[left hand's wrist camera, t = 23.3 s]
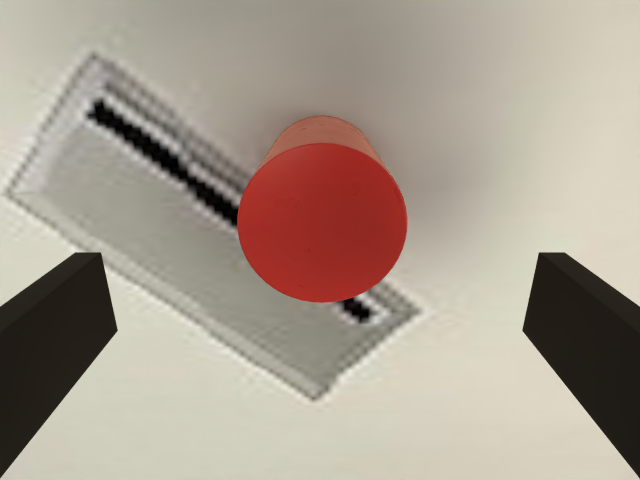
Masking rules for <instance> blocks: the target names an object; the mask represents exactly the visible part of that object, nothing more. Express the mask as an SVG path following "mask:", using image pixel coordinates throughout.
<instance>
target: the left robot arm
mask: <svg viewBox="0 0 640 480" xmlns="http://www.w3.org/2000/svg"><path fill="white" fill-rule="evenodd" d="M117 331H118V330H117V325H116V321H115V316H114V311H113V307H112V302H111V297H110V293H109V288H108V283H107V278H106V274H105V269H104V264H103V260H102V255H101V253H74V254H73V255H71V256H70V257H69V258H67V259H66V260H64V261H63V262H62V263H60V264H59V265H57V266H56V267H55V268H53V269H52V270H51V271H49V272H48V273H46V274H45V275H44V276H42V277H41V278H39V279H38V280H37V281H35V282H34V283H32V284H31V285H30V286H28V287H27V288H26V289H24V290H23V291H21V292H20V293H19V294H17V295H16V296H14V297H13V298H12V299H10V300H9V301H8V302H6V303H5V304H3V305H2V306H1V307H0V478H1V477H2V475H3V474H4V473H5V472H6V470H7V469H8V468H9V467H10V465H11V464H12V463H13V462H14V460H15V459H16V458H17V457H18V455H19V454H20V453H21V451H22V450H23V449H24V448H25V446H26V445H27V444H28V443H29V441H30V440H31V439H32V438H33V436H34V435H35V434H36V433H37V431H38V430H39V429H40V428H41V426H42V425H43V424H44V423H45V421H46V420H47V419H48V418H49V416H50V415H51V414H52V413H53V411H54V410H55V409H56V407H57V406H58V405H59V404H60V402H61V401H62V400H63V399H64V397H65V396H66V395H67V394H68V392H69V391H70V390H71V389H72V387H73V386H74V385H75V384H76V382H77V381H78V380H79V379H80V377H81V376H82V375H83V374H84V372H85V371H86V370H87V368H88V367H89V366H90V365H91V363H92V362H93V361H94V360H95V358H96V357H97V356H98V355H99V353H100V352H101V351H102V350H103V348H104V347H105V346H106V345H107V343H108V342H109V341H110V340H111V338H112V337H113V336H114V335H115V333H116V332H117ZM522 331H523V332H524V333H525V335H526V336H527V337H528V338H529V340H530V341H531V342H532V343H533V345H534V346H535V347H536V348H537V350H538V351H539V352H540V353H541V355H542V356H543V357H544V358H545V360H546V361H547V362H548V363H549V365H550V366H551V367H552V368H553V370H554V371H555V372H556V374H557V375H558V376H559V377H560V379H561V380H562V381H563V382H564V384H565V385H566V386H567V387H568V389H569V390H570V391H571V392H572V394H573V395H574V396H575V397H576V399H577V400H578V401H579V402H580V404H581V405H582V406H583V407H584V409H585V410H586V411H587V413H588V414H589V415H590V416H591V418H592V419H593V420H594V421H595V423H596V424H597V425H598V426H599V428H600V429H601V430H602V431H603V433H604V434H605V435H606V436H607V438H608V439H609V440H610V441H611V443H612V444H613V445H614V446H615V448H616V449H617V450H618V451H619V453H620V454H621V455H622V457H623V458H624V459H625V460H626V462H627V463H628V464H629V465H630V467H631V468H632V469H633V470H634V472H635V473H636V474H637V475H638V477H639V478H640V307H639V306H638V305H637V304H635V303H634V302H632V301H631V300H630V299H628V298H627V297H626V296H624V295H623V294H621V293H620V292H619V291H617V290H616V289H614V288H613V287H612V286H610V285H609V284H608V283H606V282H605V281H603V280H602V279H601V278H599V277H598V276H596V275H595V274H594V273H592V272H591V271H589V270H588V269H587V268H585V267H584V266H583V265H581V264H580V263H578V262H577V261H576V260H574V259H573V258H571V257H570V256H569V255H567V254H566V253H539V255H538V260H537V264H536V269H535V274H534V278H533V283H532V288H531V293H530V297H529V302H528V307H527V311H526V316H525V321H524V325H523V330H522Z"/></svg>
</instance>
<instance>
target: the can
mask: <svg viewBox="0 0 640 480" xmlns="http://www.w3.org/2000/svg"><path fill="white" fill-rule="evenodd" d="M237 220H238V235H239V240H240V244H241V247H242V250H243V252H244V254H245V256H246V259H247V260H248V262H249V263H250V265H251V267H252V268H253V269H254V270H255V272H256V273H257V274H258V275H259V276H260V277H261V278H262V279H263V280H264V281H265V282H266V283H267V284H269V285H270V286H271V287H273V288H274V289H276V290H278V291H279V292H281V293H283V294H285V295H288V296H290V297H293V298H296V299H299V300H303V301H309V302H321V303H324V302H335V301H341V300H345V299H349V298H352V297H355V296H357V295H359V294H362V293H363V292H365V291H367V290H369V289H370V288H372V287H373V286H375V285H376V284H377V283H379V282H380V281H381V280H382V279H383V278H384V277H385V276H386V275H387V274H388V273H389V271H390V270H391V269H392V268H393V266H394V265H395V263H396V261H397V260H398V258H399V256H400V254H401V251H402V249H403V246H404V243H405V239H406V233H407V212H406V206H405V202H404V199H403V196H402V194H401V191H400V189H399V187H398V185H397V184H396V182H395V180H394V179H393V177H392V176H391V174H390V173H389V171H388V170H387V168H386V167H385V165H384V164H383V162H382V161H381V159H380V158H379V157H378V155H377V154H376V152H375V151H374V149H373V148H372V146H371V145H370V143H369V142H368V140H367V139H366V138H365V136H364V135H363V134H362V133H361V132H360V131H359V130H358V129H357V128H355V127H354V126H353V125H351V124H350V123H348V122H346V121H344V120H341V119H338V118H334V117H329V116H315V117H310V118H306V119H303V120H300V121H298V122H296V123H294V124H293V125H291V126H290V127H288V128H287V129H286V130H285V131H284V132H283V133H282V134H281V135H280V136H279V137H278V139H277V140H276V142H275V143H274V145H273V146H272V148H271V149H270V151H269V152H268V154H267V155H266V157H265V159H264V160H263V162H262V163H261V165H260V166H259V168H258V169H257V171H256V172H255V174H254V175H253V177H252V179H251V180H250V182H249V183H248V185H247V187H246V189H245V191H244V193H243V196H242V198H241V202H240V205H239V210H238V218H237Z"/></svg>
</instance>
